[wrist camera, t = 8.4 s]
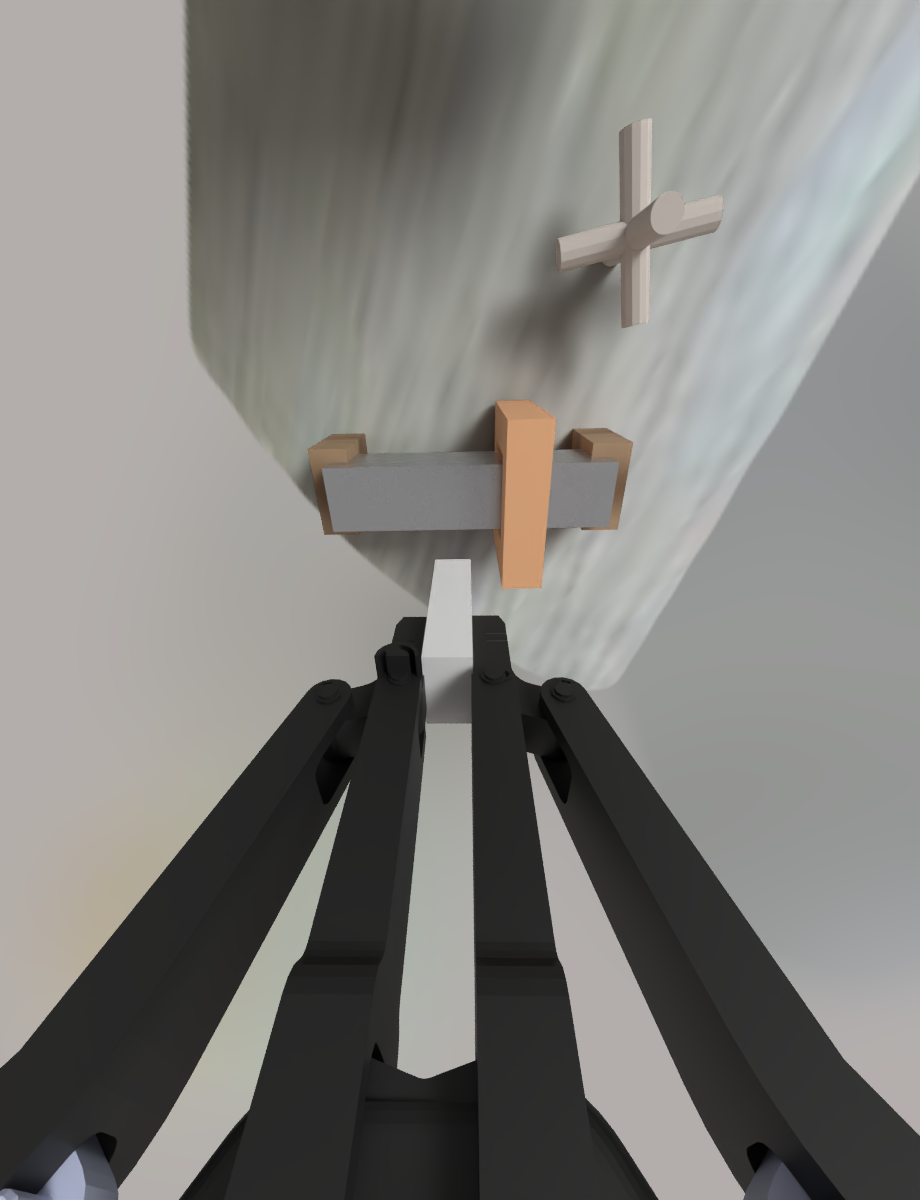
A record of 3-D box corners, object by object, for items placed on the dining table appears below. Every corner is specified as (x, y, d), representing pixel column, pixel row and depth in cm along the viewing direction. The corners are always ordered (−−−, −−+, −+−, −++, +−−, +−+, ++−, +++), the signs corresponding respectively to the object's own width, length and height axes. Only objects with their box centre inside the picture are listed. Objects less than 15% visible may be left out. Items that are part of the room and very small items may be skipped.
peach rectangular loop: (495, 400, 36) (507, 419, 26) (530, 400, 36) (556, 418, 26) (493, 531, 42) (502, 588, 32) (522, 530, 42) (541, 587, 32)
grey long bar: (339, 454, 35) (321, 468, 31) (600, 448, 35) (619, 462, 31) (348, 511, 38) (333, 531, 34) (592, 506, 37) (608, 526, 33)
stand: (332, 434, 38) (307, 449, 32) (606, 428, 38) (633, 442, 32) (344, 508, 42) (324, 534, 36) (595, 503, 41) (617, 529, 35)
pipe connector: (552, 343, 35) (581, 340, 26) (538, 181, 30) (568, 111, 21) (677, 313, 33) (751, 299, 25) (684, 139, 28) (780, 46, 20)
